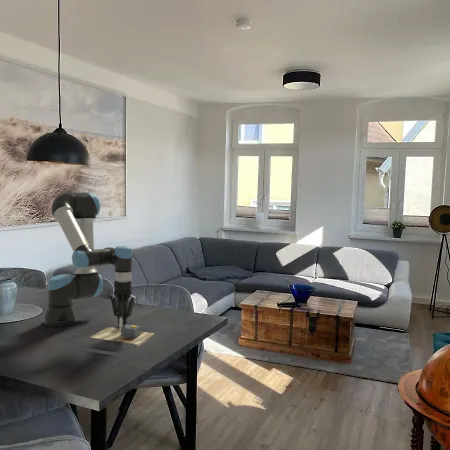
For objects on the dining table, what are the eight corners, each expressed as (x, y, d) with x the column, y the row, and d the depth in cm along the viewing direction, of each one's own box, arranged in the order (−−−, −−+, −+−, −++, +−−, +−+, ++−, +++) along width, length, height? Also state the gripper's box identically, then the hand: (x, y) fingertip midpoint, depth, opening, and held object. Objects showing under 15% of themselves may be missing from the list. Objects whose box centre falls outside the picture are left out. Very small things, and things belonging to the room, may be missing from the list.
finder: (121, 336, 208) (121, 326, 208) (126, 332, 213) (126, 323, 213) (134, 338, 206) (135, 328, 206) (140, 334, 211) (140, 325, 211)
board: (89, 339, 206) (89, 337, 206) (108, 329, 221) (108, 327, 221) (137, 347, 199) (137, 344, 199) (154, 335, 214) (154, 333, 214)
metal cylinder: (115, 330, 220) (115, 311, 219) (118, 328, 224) (119, 309, 223) (121, 331, 219) (121, 312, 218) (125, 329, 222) (125, 310, 222)
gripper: (105, 280, 207) (105, 332, 209) (131, 283, 203) (130, 335, 205) (114, 277, 214) (114, 327, 216) (139, 280, 210) (139, 330, 212)
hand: (122, 331), depth 211 cm, fingers closed
